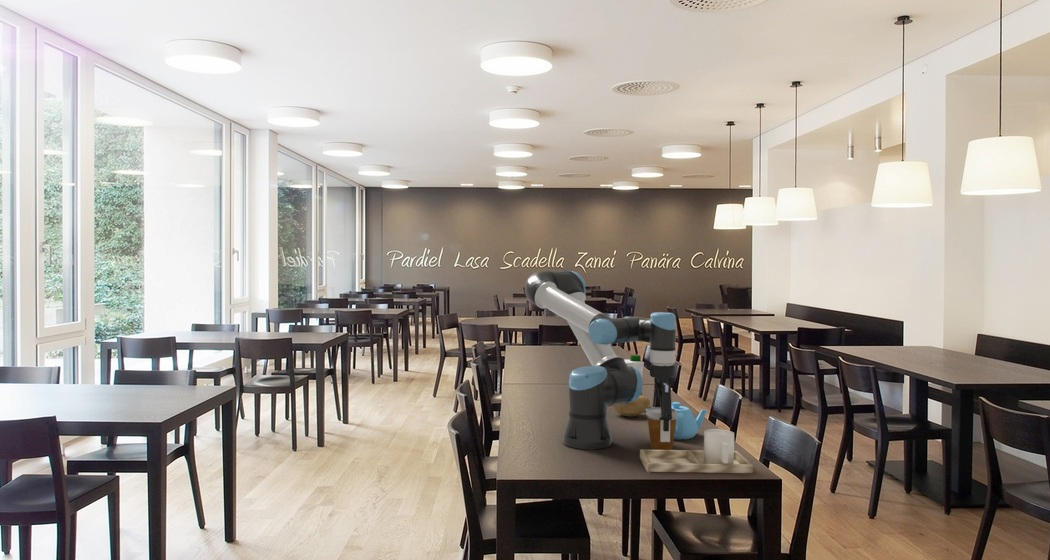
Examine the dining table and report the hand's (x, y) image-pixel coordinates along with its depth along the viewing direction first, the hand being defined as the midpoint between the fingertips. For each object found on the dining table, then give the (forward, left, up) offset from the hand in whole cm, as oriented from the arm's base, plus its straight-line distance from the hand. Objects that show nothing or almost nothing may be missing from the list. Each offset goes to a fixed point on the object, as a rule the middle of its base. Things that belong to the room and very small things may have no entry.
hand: (661, 436), depth 202 cm
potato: (-3, +45, -4) cm, 45 cm away
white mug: (+13, -18, -3) cm, 22 cm away
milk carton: (-1, +62, -4) cm, 62 cm away
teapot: (+8, +18, -4) cm, 20 cm away
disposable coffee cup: (0, 0, -4) cm, 4 cm away
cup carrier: (+6, -16, -4) cm, 18 cm away
